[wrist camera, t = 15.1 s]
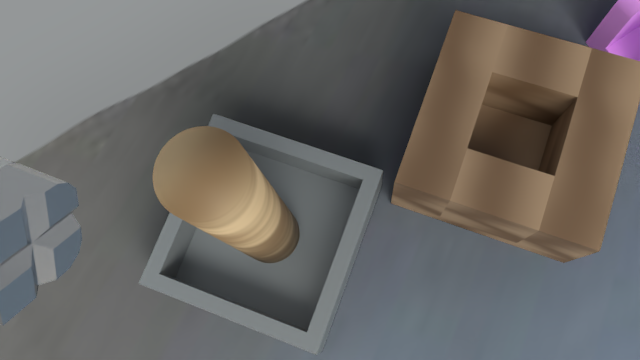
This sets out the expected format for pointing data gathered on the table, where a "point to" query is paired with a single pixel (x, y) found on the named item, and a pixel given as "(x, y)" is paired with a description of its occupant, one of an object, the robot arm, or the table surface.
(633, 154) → the table surface
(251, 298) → the grey tray
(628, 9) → the bracket
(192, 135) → the oak dowel
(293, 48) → the table surface
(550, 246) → the walnut holder
